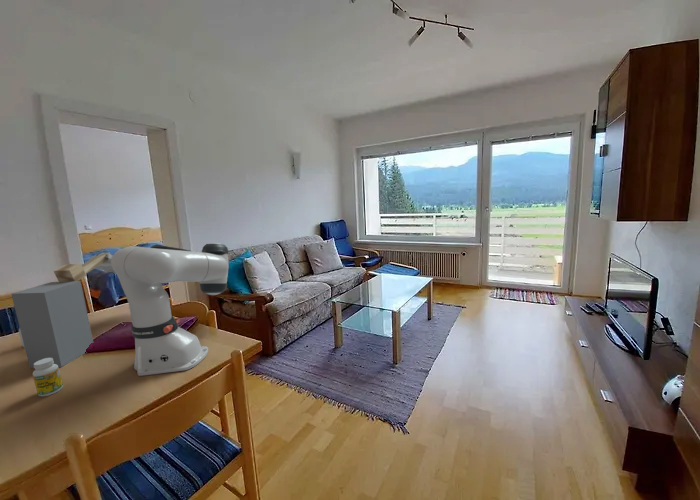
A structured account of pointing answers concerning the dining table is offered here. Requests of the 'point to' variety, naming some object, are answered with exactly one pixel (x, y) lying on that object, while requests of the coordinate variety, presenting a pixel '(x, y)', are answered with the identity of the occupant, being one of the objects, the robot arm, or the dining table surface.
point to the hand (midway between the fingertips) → (101, 256)
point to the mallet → (78, 269)
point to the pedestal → (53, 322)
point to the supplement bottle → (47, 377)
